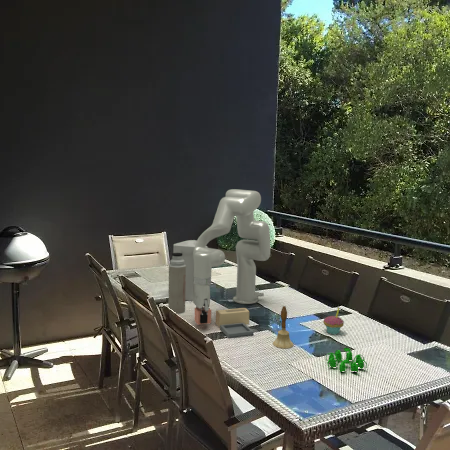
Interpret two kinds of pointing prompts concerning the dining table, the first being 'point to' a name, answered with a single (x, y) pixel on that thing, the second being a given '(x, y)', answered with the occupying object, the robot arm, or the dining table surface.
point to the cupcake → (333, 323)
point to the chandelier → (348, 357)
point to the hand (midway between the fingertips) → (201, 320)
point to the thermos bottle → (177, 283)
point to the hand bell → (283, 333)
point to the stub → (197, 316)
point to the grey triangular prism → (187, 265)
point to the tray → (236, 330)
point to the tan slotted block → (232, 316)
